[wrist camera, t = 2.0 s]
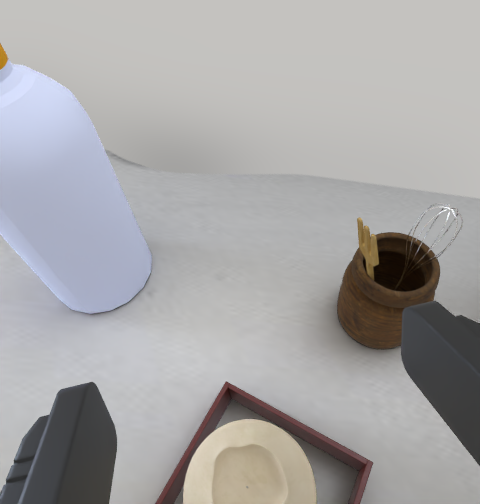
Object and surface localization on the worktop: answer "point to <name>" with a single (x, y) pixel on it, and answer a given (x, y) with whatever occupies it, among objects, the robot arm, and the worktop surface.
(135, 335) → the worktop surface
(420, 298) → the utensil holder
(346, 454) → the dark red square frame
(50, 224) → the soap bottle
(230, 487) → the candle
